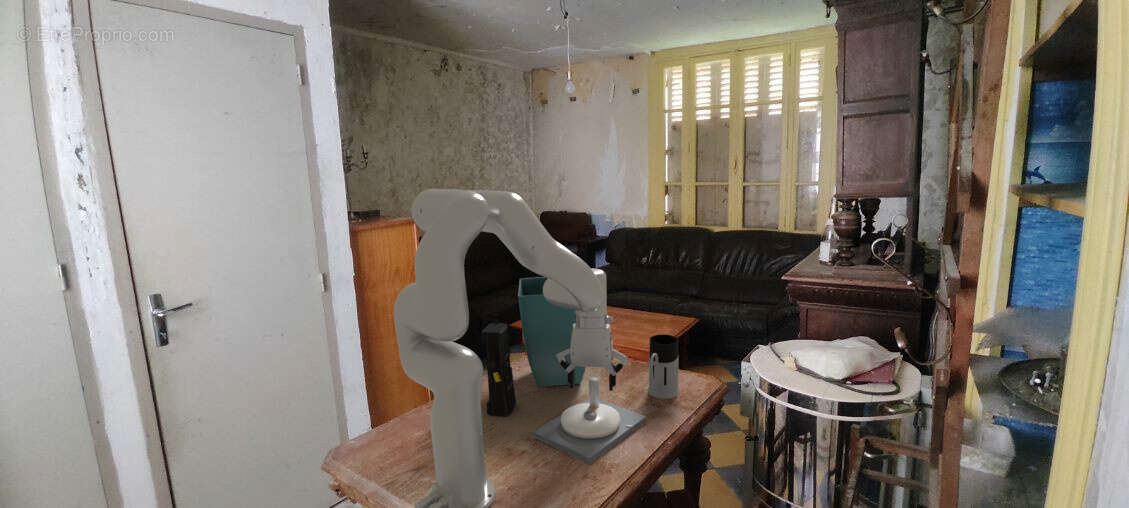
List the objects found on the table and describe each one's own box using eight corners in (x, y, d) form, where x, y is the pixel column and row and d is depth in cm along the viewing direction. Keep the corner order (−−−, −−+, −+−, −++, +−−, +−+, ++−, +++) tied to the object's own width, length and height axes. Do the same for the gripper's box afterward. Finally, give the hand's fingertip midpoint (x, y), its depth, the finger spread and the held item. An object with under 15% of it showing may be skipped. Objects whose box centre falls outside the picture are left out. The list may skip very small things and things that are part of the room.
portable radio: (508, 419, 131) (502, 324, 126) (485, 417, 133) (478, 323, 128) (517, 404, 139) (511, 314, 134) (495, 402, 140) (489, 313, 135)
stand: (590, 464, 112) (590, 457, 111) (533, 437, 123) (532, 430, 122) (647, 422, 128) (647, 415, 127) (591, 401, 139) (591, 395, 138)
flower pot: (524, 364, 164) (519, 277, 158) (587, 361, 165) (585, 274, 159) (523, 394, 144) (517, 295, 139) (595, 389, 145) (592, 291, 140)
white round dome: (615, 441, 117) (615, 406, 115) (554, 435, 120) (553, 401, 118) (623, 410, 130) (623, 378, 128) (568, 406, 133) (567, 375, 131)
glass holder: (684, 387, 145) (684, 336, 142) (667, 410, 133) (667, 355, 130) (653, 381, 149) (653, 331, 146) (635, 403, 137) (634, 349, 134)
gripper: (628, 317, 127) (628, 383, 130) (558, 314, 131) (560, 378, 134) (625, 327, 120) (625, 396, 123) (552, 323, 123) (554, 391, 127)
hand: (591, 387), depth 128 cm, fingers open, 9 cm apart
